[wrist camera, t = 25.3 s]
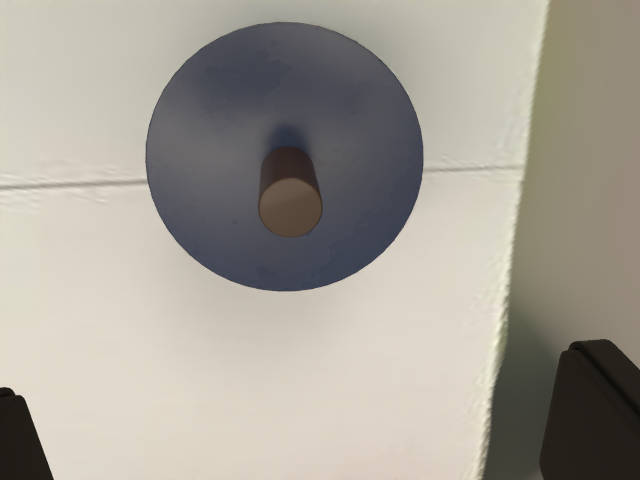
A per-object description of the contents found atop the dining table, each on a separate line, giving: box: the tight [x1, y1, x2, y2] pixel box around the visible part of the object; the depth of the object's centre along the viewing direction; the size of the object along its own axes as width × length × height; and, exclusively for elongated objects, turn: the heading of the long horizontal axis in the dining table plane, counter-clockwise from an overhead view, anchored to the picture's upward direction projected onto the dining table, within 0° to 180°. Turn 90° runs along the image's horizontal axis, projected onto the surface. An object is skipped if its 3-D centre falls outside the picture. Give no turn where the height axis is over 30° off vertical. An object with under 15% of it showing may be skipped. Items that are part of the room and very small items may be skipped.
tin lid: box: [146, 22, 423, 291], centre depth 21 cm, size 12×12×6 cm
